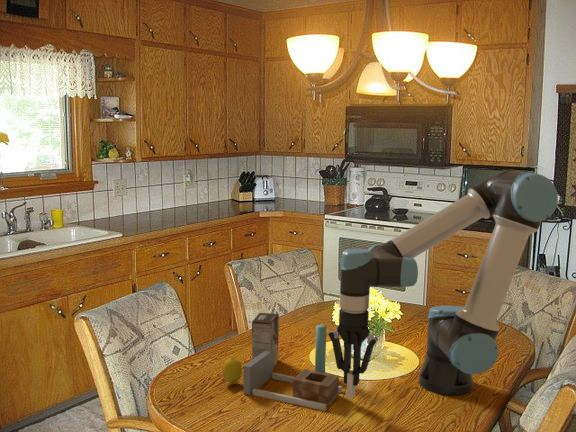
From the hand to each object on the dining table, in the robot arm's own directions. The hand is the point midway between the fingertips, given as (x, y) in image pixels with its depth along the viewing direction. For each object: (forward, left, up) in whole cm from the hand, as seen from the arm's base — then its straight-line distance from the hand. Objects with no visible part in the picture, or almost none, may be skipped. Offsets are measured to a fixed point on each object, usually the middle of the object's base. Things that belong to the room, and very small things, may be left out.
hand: (350, 395), depth 160 cm
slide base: (+16, 0, -4) cm, 17 cm away
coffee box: (+32, -14, -4) cm, 35 cm away
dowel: (+14, -14, -4) cm, 20 cm away
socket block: (+10, 0, -2) cm, 10 cm away
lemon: (+35, +1, -4) cm, 35 cm away
